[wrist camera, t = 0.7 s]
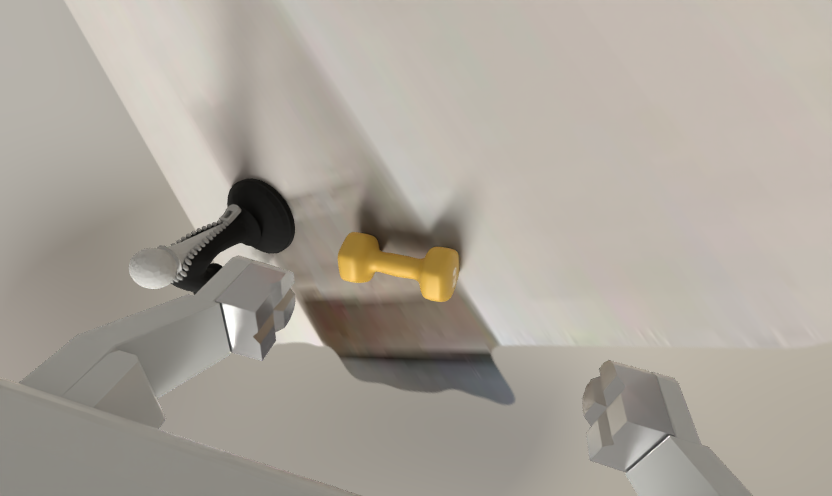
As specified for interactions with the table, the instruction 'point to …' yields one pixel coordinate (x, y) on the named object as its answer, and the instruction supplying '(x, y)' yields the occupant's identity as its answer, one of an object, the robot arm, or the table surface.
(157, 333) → the robot arm
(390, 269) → the dumbbell
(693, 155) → the table surface
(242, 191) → the sculpture
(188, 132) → the table surface
